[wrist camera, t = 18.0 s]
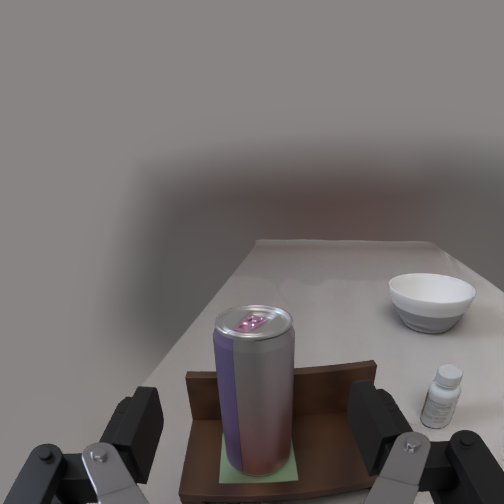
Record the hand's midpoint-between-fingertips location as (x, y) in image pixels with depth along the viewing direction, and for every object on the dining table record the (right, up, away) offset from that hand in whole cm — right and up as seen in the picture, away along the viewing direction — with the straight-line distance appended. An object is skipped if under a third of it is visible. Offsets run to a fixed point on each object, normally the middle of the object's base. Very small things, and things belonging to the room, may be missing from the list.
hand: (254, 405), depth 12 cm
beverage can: (+1, -13, +14) cm, 19 cm away
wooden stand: (+4, -17, +16) cm, 24 cm away
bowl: (+37, -9, +48) cm, 61 cm away
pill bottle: (+23, -16, +20) cm, 35 cm away
